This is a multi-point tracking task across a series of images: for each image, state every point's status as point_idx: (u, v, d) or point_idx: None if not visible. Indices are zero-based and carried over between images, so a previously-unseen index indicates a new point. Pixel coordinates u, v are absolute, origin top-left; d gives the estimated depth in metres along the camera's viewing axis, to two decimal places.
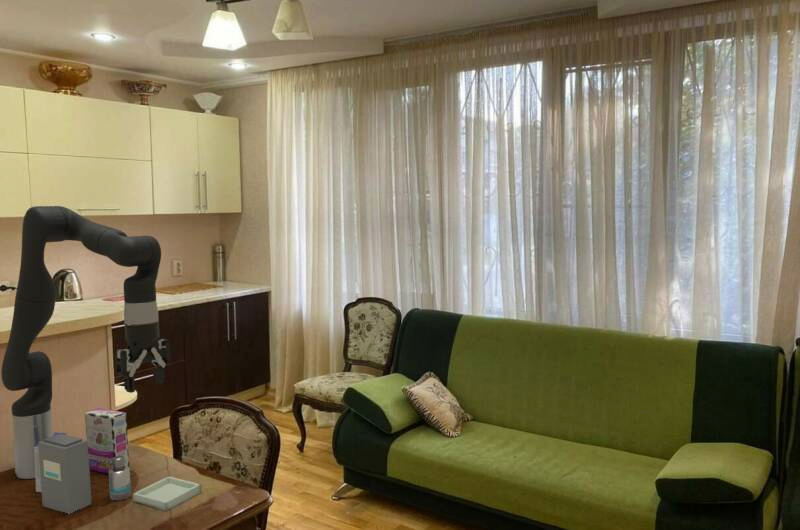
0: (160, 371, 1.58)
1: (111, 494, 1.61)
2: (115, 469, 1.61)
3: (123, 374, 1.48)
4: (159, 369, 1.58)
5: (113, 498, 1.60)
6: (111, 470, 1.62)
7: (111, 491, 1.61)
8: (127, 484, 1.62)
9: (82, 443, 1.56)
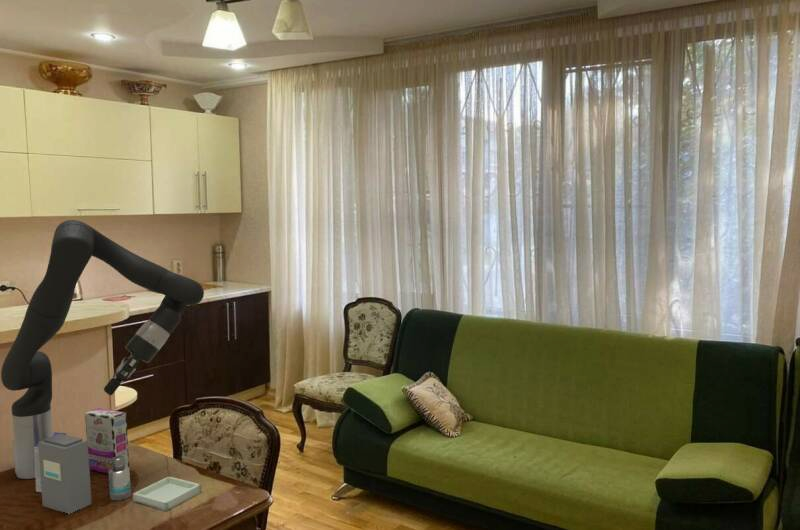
0: None
1: (111, 494, 1.61)
2: (115, 469, 1.61)
3: None
4: None
5: (113, 498, 1.60)
6: (111, 470, 1.62)
7: (111, 491, 1.61)
8: (126, 484, 1.61)
9: (82, 443, 1.56)
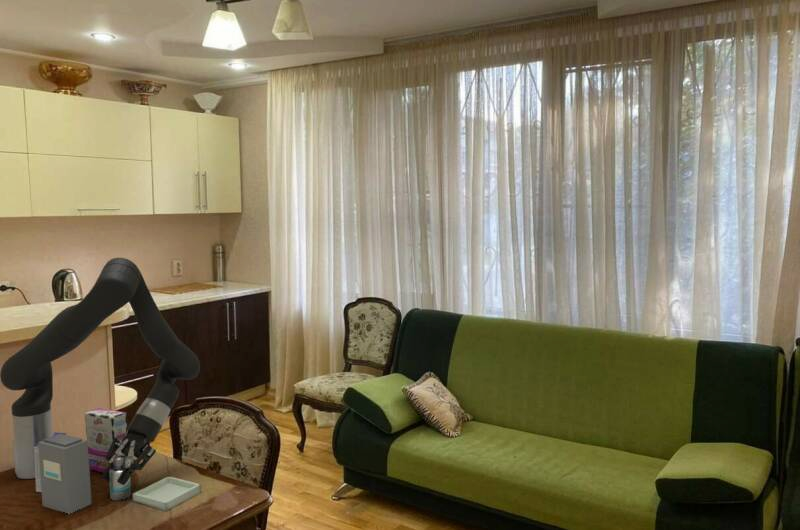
0: None
1: (110, 493, 1.61)
2: (115, 468, 1.61)
3: (106, 457, 1.65)
4: None
5: (112, 497, 1.61)
6: (112, 469, 1.62)
7: (110, 490, 1.61)
8: (126, 484, 1.61)
9: (82, 443, 1.56)
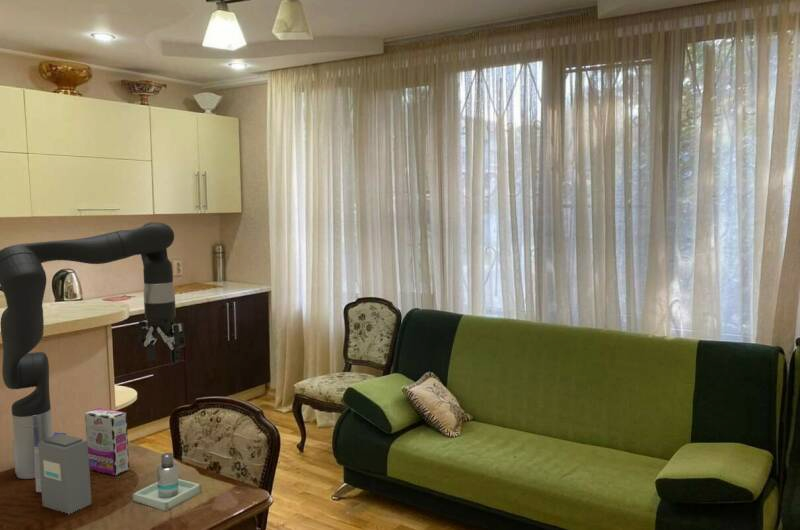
0: None
1: (159, 491, 1.60)
2: (164, 466, 1.60)
3: (139, 341, 1.70)
4: None
5: (161, 495, 1.60)
6: (160, 467, 1.61)
7: (159, 488, 1.60)
8: (175, 481, 1.61)
9: (82, 443, 1.56)
